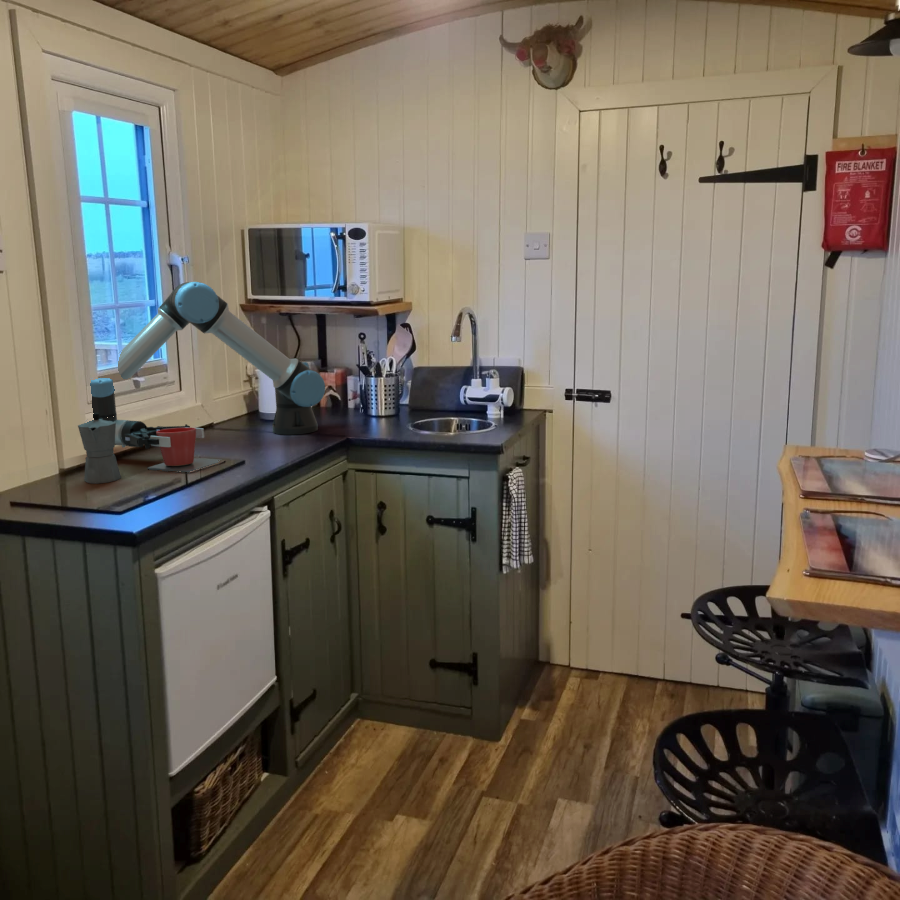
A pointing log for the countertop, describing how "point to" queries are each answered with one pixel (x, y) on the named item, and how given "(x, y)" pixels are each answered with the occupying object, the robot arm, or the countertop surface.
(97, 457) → the coffeepot
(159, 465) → the slate coaster
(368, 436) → the countertop surface
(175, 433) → the flower pot
